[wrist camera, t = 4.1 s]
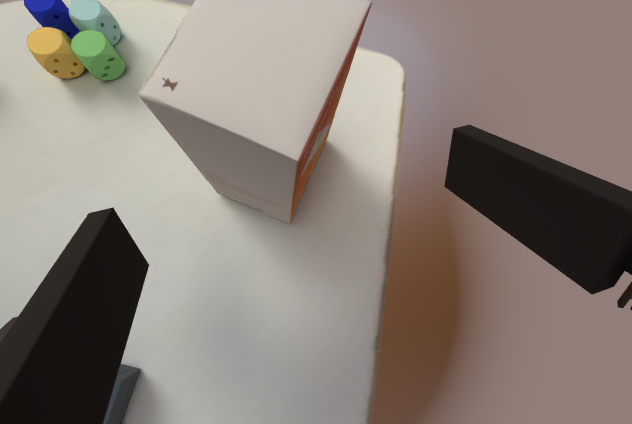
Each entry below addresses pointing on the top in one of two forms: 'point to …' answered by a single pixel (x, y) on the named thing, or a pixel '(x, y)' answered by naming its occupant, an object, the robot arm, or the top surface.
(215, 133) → the small box
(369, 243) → the top surface
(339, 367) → the top surface
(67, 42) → the dice
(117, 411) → the tray
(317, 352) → the top surface
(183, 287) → the top surface
